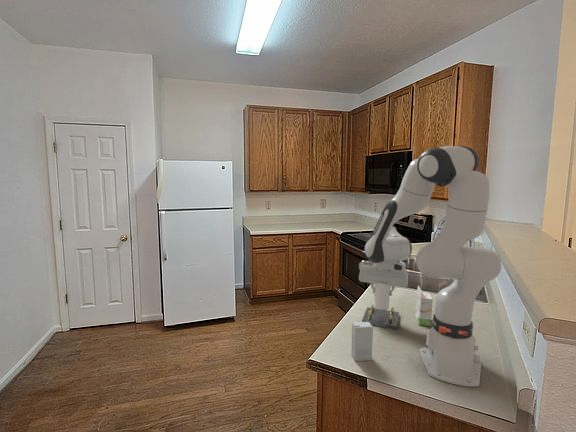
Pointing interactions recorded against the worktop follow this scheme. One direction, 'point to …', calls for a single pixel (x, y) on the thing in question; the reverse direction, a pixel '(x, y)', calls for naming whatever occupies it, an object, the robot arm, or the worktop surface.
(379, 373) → the worktop surface
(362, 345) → the skincare box
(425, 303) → the ink box
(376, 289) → the can
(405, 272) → the robot arm
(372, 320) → the plate
